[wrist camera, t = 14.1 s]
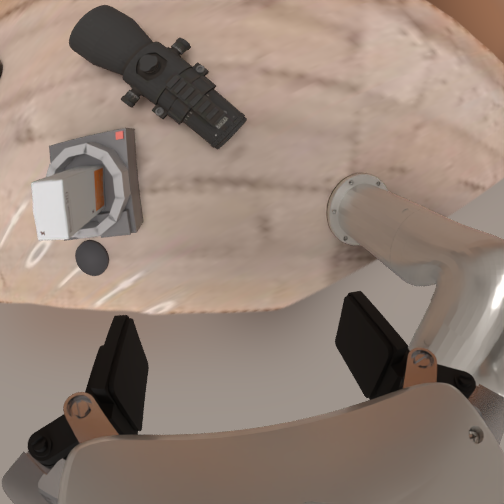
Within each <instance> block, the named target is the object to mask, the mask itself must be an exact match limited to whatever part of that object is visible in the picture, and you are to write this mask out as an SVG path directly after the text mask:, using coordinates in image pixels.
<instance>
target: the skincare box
mask: <svg viewBox="0 0 504 504" xmlns="http://www.w3.org/2000/svg"><path fill="white" fill-rule="evenodd" d="M31 188H32V199H33V214H34V218H35V224H36V230H37V236H38V240H39V241H40V240H65V239H70V238H71V237H72V236H73V235H74V234H75V233H76V232H77V231H79V230H80V229H81V228H82V227H83V226H84V225H85V224H86V223H88V222H89V221H90V220H91V219H92V218H93V217H95V216H96V215H97V214H98V213H100V212H101V211H102V210H103V209H104V208H105V196H104V165H92V166H79V167H75V168H72V169H69V170H66V171H63V172H60V173H57V174H54V175H51V176H48V177H45V178H43V179H40V180H37V181H34V182H32V183H31Z"/></svg>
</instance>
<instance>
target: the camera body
mask: <svg viewBox="0 0 504 504" xmlns="http://www.w3.org/2000/svg"><path fill="white" fill-rule="evenodd" d="M49 150H50V161H51V164H50V165H49V168H48V171H47V175H46V177H48V176H51V175H54V174H57V173H60V172H63V171H66V170H69V169H72V168H75V167H79V166H92V165H104V196H105V208H104V209H103V210H102V211H101V212H100V213H98V214H97V215H96V216H95V217H93V218H92V219H91V220H90V221H89V222H88V223H86V224H85V225H84V226H83V227H82V228H81V229H80V230H79V231H77V232H76V233H75V234H74V235H73V236H72V237H71V238H70V239H65V240H73V239H81V238H90V237H98V236H101V238H103V237H112V236H121V235H130V234H131V233H136V232H137V231H138V229H139V228H140V226H141V225H142V223H143V217H142V210H141V202H140V194H139V185H138V175H137V164H136V151H135V134H134V129H129V128H124V129H119V130H113V131H108V132H103V133H98V134H94V135H89V136H85V137H81V138H77V139H73V140H69V141H65V142H61V143H58V144H54V145H51V146H49ZM65 240H64V241H65Z"/></svg>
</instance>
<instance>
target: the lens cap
mask: <svg viewBox="0 0 504 504" xmlns="http://www.w3.org/2000/svg"><path fill="white" fill-rule="evenodd" d="M75 257H76V262H77V264H78V266H79V268H80V269H81V270H82V271H83V272H85V273H86V274H88V275H92V276H97V275H100V274H102V273H103V272H104V271H105V269H106V268H107V266H108V263H109V257H108V253H107V251H106V249H105V248H104V247H103V246H102V245H101V244H100V243H99V242H97V241H93V240H87V241H84V242H83V243H82V244H81V245H80V246H79V247H78V248H77V250H76V255H75Z"/></svg>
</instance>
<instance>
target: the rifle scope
mask: <svg viewBox="0 0 504 504" xmlns="http://www.w3.org/2000/svg"><path fill="white" fill-rule="evenodd" d="M69 45H70V47H71V48H72V50H74V51H75V52H76V53H78V54H79V55H81V56H82V57H84V58H85V59H86V60H88V61H89V62H91V63H92V64H93V65H96V66H99V67H102V68H105V69H107V70H110V71H113V72H116V73H118V74H121V75H123V80H124V81H125V82H126V83H128V84H129V85H130V87H131V88H132V90H129V91H128V92H127V93H126V95H125V96H123V97H122V98H121V100H122V101H123V102H124V103H125V104H127V105H128V106H130V107H133V106H134V105H135V103H136V102H137V101H138V100H139V99H140V96H141V95H142V96H145V97H146V98H147V99H149V100H150V101H151V102H152V103H154V104H155V105H156V106H155V107H154V108H153V109H152V111H153V112H154V113H155V114H156V115H158V116H159V117H160V118H162V119H164V118H165V117H166V116H167V115H169V116H170V117H171V118H172V119H174V120H175V121H176V122H177V123H179V124H180V123H183V122H184V123H186V124H187V125H188V126H189V127H190V128H192V129H193V130H194V131H195V132H196V133H198V134H199V135H200V136H201V137H202V138H204V139H205V140H206V141H207V142H208V143H209V144H211V146H212V147H213V148H214V147H215V148H216V149H219V148H220V147H221V146H223V145H224V144H225V143H226V142H227V141H228V140H229V139H230V138H231V137H232V136H233V135H234V134H235V133H236V132H237V131H238V129H239V128H240V127H241V126H242V125H243V124H244V123H245V121H246V120H247V118H245V117H244V116H245V115H244V114H242V113H241V112H240V111H238V110H237V109H236V108H235V107H234V106H233V105H232V104H230V103H229V102H228V101H227V100H226V99H225V98H223V97H222V96H221V95H220V94H219V93H218V92H216V91H215V90H214V88H215V87H216V85H215V84H214V83H212V82H211V81H210V80H209V79H207V78H206V77H205V75H206V74H207V73H208V70H207V69H206V68H204V66H202V65H200V64H199V63H196V64H195V65H194V66H193V67H192V66H191V65H190V64H188V63H187V62H186V61H184V60H183V59H182V58H181V57H180V55H182V54H183V53H184V52H185V51H186V50H189V49H190V48H191V46H190V44H189V43H188V42H187V41H186V40H184V39H182V38H178V39H177V40H176V42H175V43H174V44H173V45H172V46H171V47H172V48H169V47H168V48H167V47H165V46H164V45H162V44H161V43H159V42H152V41H151V39H150V38H149V37H148V36H147V35H146V34H145V32H144V31H143V30H142V29H141V28H140V26H139V25H138V24H137V23H136V22H135V21H134V20H133V19H132V18H130V17H128V16H127V15H125V14H123V13H122V12H120V11H118V10H116V9H115V8H113V7H110V6H108V5H102V6H99V7H96V8H94V9H92V10H91V11H89V12H88V13H87V14H85V15H84V16H83V17H82V18H81V19H80V20H79V22H78V23H77V24H76V26H75V27H74V29H73V31H72V33H71V35H70V39H69Z"/></svg>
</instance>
